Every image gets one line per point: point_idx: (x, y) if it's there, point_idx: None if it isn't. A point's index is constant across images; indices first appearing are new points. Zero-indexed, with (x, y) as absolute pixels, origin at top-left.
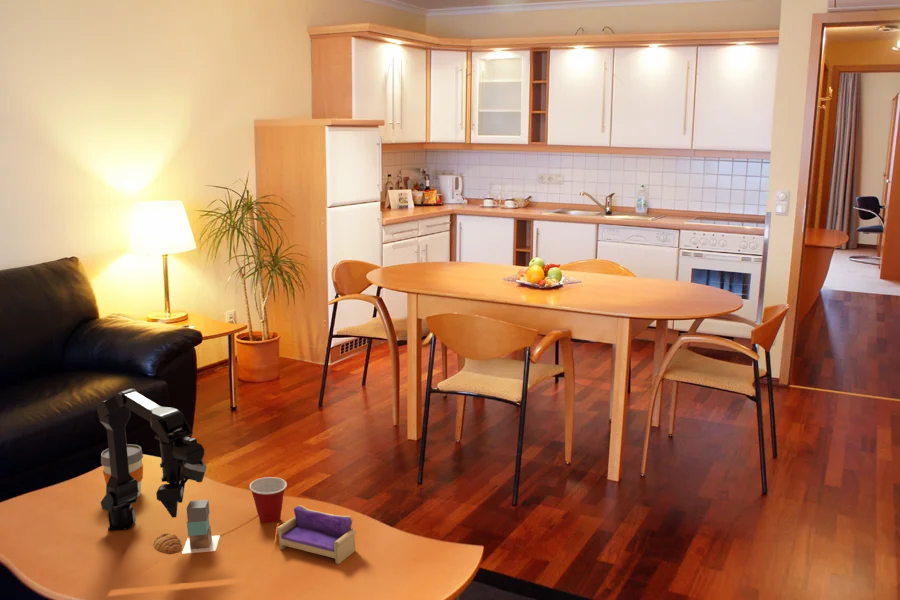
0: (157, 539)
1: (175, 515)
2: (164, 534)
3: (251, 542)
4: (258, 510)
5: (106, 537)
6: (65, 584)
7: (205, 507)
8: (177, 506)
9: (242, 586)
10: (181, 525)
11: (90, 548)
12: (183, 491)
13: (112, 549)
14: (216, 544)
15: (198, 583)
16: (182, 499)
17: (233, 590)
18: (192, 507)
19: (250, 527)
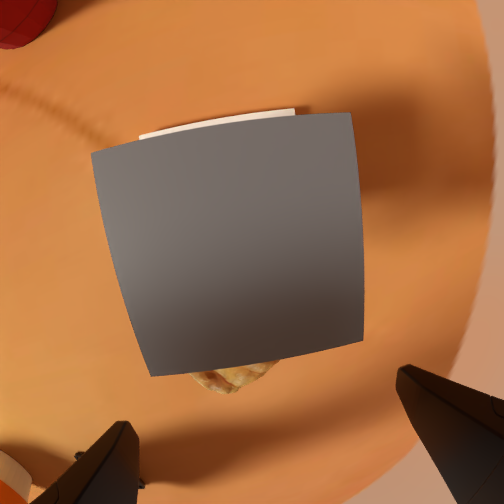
0: (234, 387)
1: (422, 373)
2: (209, 377)
3: (183, 3)
4: (17, 9)
5: (175, 482)
6: (390, 454)
7: (333, 113)
8: (463, 407)
9: (463, 19)
10: (59, 340)
11: (233, 489)
12: (87, 482)
13: (238, 460)
14: (233, 119)
15: (465, 138)
16: (120, 434)
17: (480, 42)
18: (343, 286)
19: (55, 59)
